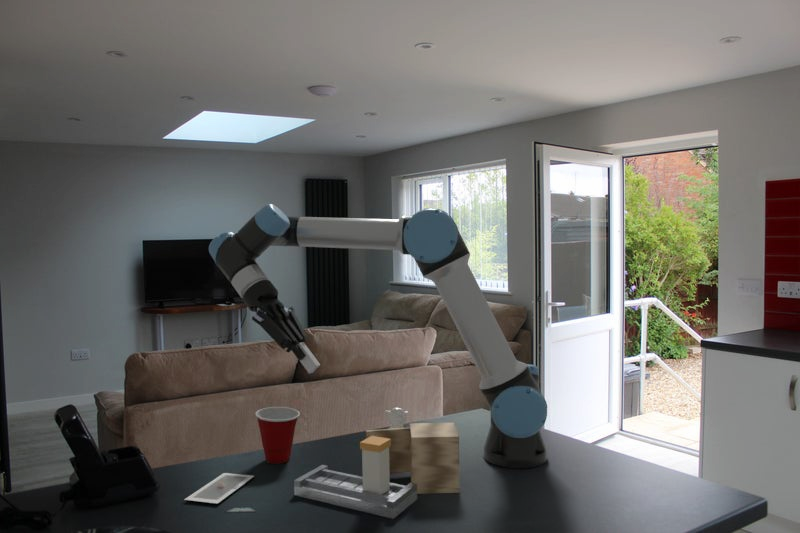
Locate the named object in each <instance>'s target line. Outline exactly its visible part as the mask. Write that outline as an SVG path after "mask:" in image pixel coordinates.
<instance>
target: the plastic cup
mask: <svg viewBox="0 0 800 533" xmlns="http://www.w3.org/2000/svg"><path fill="white" fill-rule="evenodd" d="M254 414H255V417H256V419H257V422H258V423H257V424H258V427H259V432H260V438H261V442H262V443H261V444H262V449H263V452H264V458H265V461H266V463H268V464H272V465H273V464H274V465H275V464H278V465H279V464H283V463H287V462H288V461H290V458H291V456H292V455H291V454H292V446H293V443H294V438H295V437H294V436H295V430H296V425H297V421H298V418H300V415H301V413H300V411H299V410H297V409H295V408H291V407H287V406H270V407H269V406H268V407H264V408H261V409H258V410H257V411H256V412H255V413H254Z"/></svg>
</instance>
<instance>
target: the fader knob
mask: <svg viewBox="0 0 800 533" xmlns="http://www.w3.org/2000/svg"><path fill="white" fill-rule="evenodd" d="M390 446H391V439H389V438H383V437H376V436H370V437H369V438H367V439H366V438H365V439H363V440H362V441H360V442H359V450H361V455H362V456H361V458H362V461H361V462H362V463H361V466H362V470H361V471H362V477H363V491H368V492H372V493H377V494H381V495H382V494H384V493H385V492H386V491H388V490H389V489H390V483H391V482H390V481H391V480H390V478H391V477H390V476H391V474H389V447H390Z"/></svg>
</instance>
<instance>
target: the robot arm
mask: <svg viewBox="0 0 800 533" xmlns="http://www.w3.org/2000/svg"><path fill="white" fill-rule="evenodd" d="M458 228H459V227H458V226H457V223H456V222H455V220H454V219H453V217H452V215H450V214H449V213H447V212H446V211H444V209H439V208H436V207H428V208H423V209H421V210H419V211H417V212H415V213H413V215H402V217H400V219H399V218H398V219H393V218H392V219H391V218H362V217H361V218H358V217H357V218H354V217H352V218H351V217H350V218H349V217H325V216H324V217H323V216H322V217H320V216H319V217H317V216H314V217H313V216H287V215H286V214H285V213H284V212H283V211H282V210H281V209H280V208H279V207H277V206H276V205H275V204H272V203H267V204H265V205H264V206H263V207H261V208H260V209H259V210H257V211H256V213H255V214H254V215H253V216H252V217H251V218H250V219H248V221H247V222H246V223H244V225H243V226H242V227H241V228H240V229H239V230H237V232H235V233H234V232H232V231H225V232H222V233H220V235H218V236H215V237H214V238H213V239H212V240H211V242H210V243H209V245H208V252H209V255H210V257H211V258H212V259H213V260H214V261H213V262H214V263H215V265H216V266H217V267H218V268H219V270H220V271H221V272H222V274H223V275H224V276H225V277H226V279H227V280H228V281H229V283H230V285H232V287H233V288H234V289H235V291H236V292H237V294H238V295H239V297H240V298H242V301H243V302H244V304H245V305H246V306H247V308H248V309H249V311H251V312H252V313H255V314H254V315H253V316H252V317H251V320H252V321H254V322H255V323H256V324H257V325H259V326H260V327H261V328H262V329H263V330H264V331H265V332H266V333H267V334H268V336H270V337H271V339H273V341H274V342H276V344H277V345H278V346H279V347H280V348H281V349H283V350H285V349H286V348H287V349H286V350H285V352H287V353H291V352H292V354H294V355H295V357H296V358H297V359H298V360H299V362H300V363H301V365H302V366H303V367H304V369H305V370H306V371H307V374H312V373H314V372H315V371H316V370H317V369H318V368H319V367H320V366H321V363H320V362H319V360H318V359H317V357H315V355H314V354H313V353H312V351H311V350H310V348H309V347H308V346H307V344H306V341H307V340H308V339H309V337H308V334H307V333H306V331H305V329H304V328H303V325H302V324H301V322H300V320H299V319H298V316H297V315H296V311H295V308H294V307H293V306H290V307H289V308H287V307H286V306H285V305H284V303H282V302H281V301H280V300H279V299H278V298H279V292H278V289H277V288H276V286H275V285H274V284H273V283H272V281H271V280H270V279H269V277H268V276H267V275H266V273H265V272H264V270H263V269H262V268H261V267H260V265H259V264H258V263H257V261H256V260H257V259H258V258H260V256H261V255H262V254H263V253H264V252H265V251H266V250H267V249H268V248H269V247H276V246H277V247H297V248H298V247H302V248H303V247H308V248H313V247H314V248H333V249H334V248H335V249H357V250H358V249H361V250H384V251H385V250H386V251H399V252H400V254H402V255H408V256H411V257H412V258H413V259H414V261H415V264H416V265H417V267H418V269H419V271H420V272H421V274H422V277H423V278H424V279H426V280H428V281H429V280H430V281H431V282H433V283H434V285H435V287H436V290H437V291H438V293H439V296H440V297H441V299H442V301H443V303H444V306H445V308H446V309H447V312H448V313H449V316H450V317H451V319H452V322H453V323H454V325H455V326H456V329H457V331H458V334H460V338H462V340H463V343H464V345H465V347H466V349H467V351H468V353H469V354H470V357H471V359H472V360H473V362H474V365H475V366H476V368H477V370H478V372H479V374H480V377H481V379H480V382H479V386H478V387H479V390H480V392H481V393H482V395H483V398H484V400H485V401H486V404H487V405H488V408H489V409H490V426H489V428H488V433H487V434H486V435H487V436H486V439H485V442H484V445H483V458H484V459H485V460H486V461H487V462H488V463H491V464H493V465H495V466H499V467H502V468H509V469H510V468H511V469H529V468H536V467H539V466H541V465H544V464H545V463H546V462H547V458H548V457H547V448H546V445H545V442H544V438H543V434H542V432H541V430H542V428H543V427H544V425H545V424H546V421H547V418H548V404H547V401H546V399H545V397H544V395H543V394H542V392H541V389H540V387H539V386H540V384H539V378H540V377H541V376H540V374H539V367H538V366H537V365H535V364H528V363H525V362H523V361H520V360H517V358H516V356H515V355H514V352H513V351H512V349H511V346H510V345H509V343H508V340H507V338H506V336H505V334H504V332H503V331H502V329H501V327H500V325H499V323H498V321H497V318H496V317H495V315H494V313H493V311H492V309H491V307H490V306H489V303H488V301H487V299H486V298H485V295H484V293H483V291H482V289H481V287H480V286H479V284H478V281H477V280H476V277H475V276H474V273H473V271H472V270H471V268H470V266H469V260H470V256H471V253H470V251H469V249H468V247H467V245H466V243H465V241H464V239H463V237H462V235H461V233H460V231H459V229H458Z"/></svg>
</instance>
